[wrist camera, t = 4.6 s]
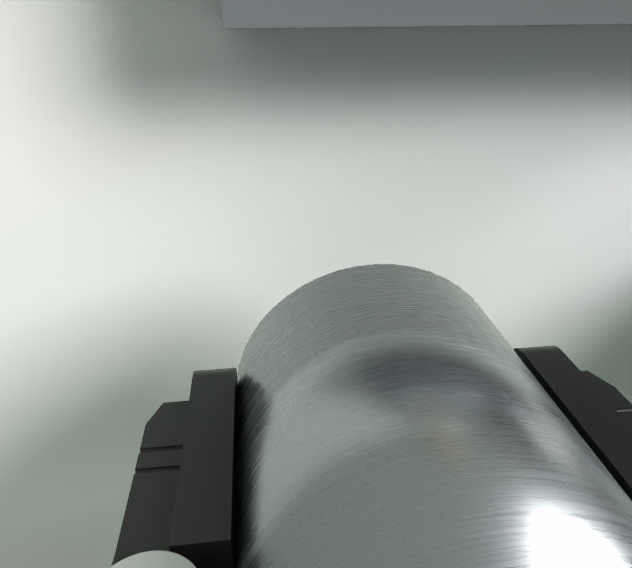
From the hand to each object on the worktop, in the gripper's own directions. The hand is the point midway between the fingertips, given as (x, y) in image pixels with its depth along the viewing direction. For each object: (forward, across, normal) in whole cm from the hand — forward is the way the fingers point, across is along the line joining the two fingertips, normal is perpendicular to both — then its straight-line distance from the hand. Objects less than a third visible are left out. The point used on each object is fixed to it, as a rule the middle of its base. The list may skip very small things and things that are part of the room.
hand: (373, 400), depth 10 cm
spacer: (0, 0, 0) cm, 0 cm away
